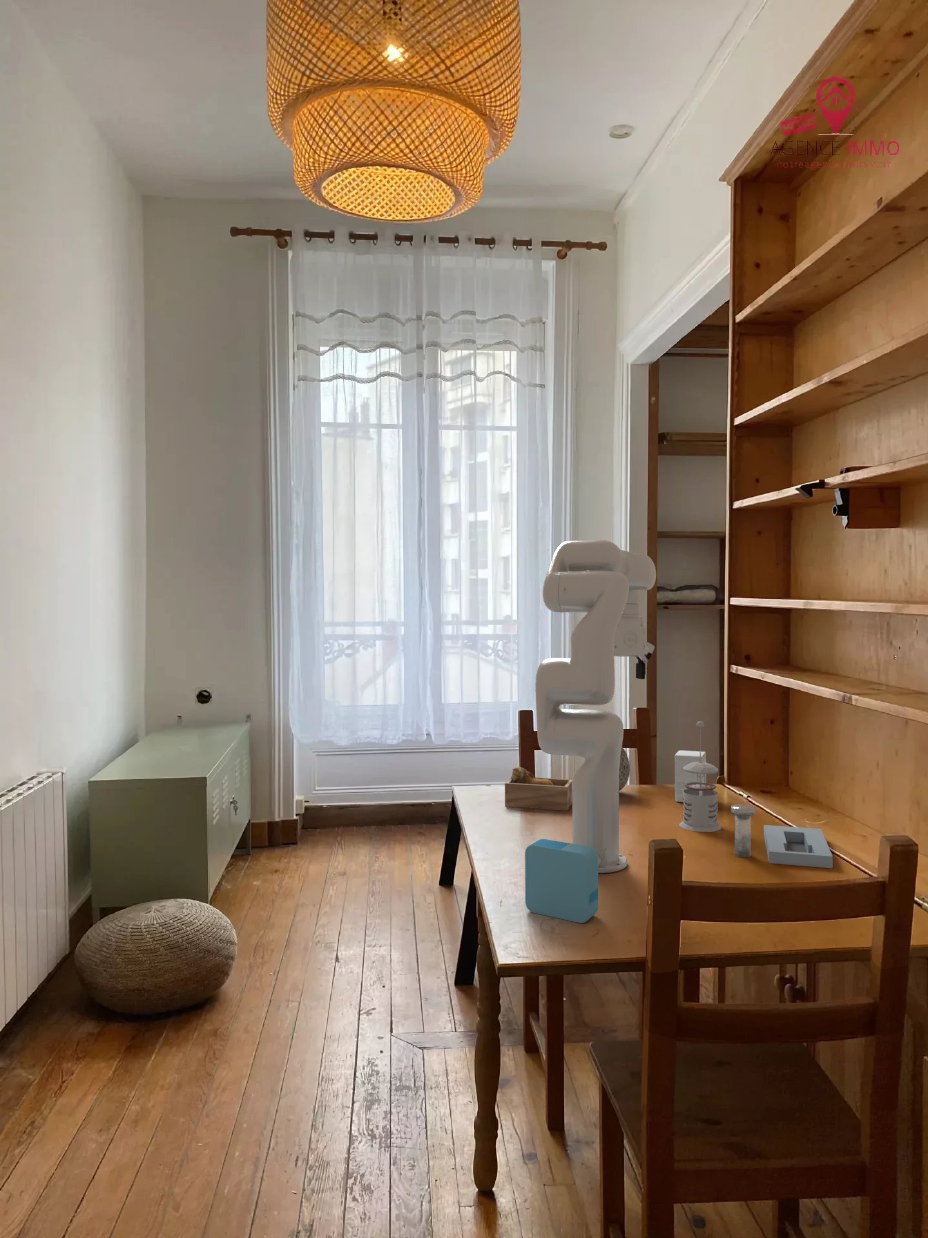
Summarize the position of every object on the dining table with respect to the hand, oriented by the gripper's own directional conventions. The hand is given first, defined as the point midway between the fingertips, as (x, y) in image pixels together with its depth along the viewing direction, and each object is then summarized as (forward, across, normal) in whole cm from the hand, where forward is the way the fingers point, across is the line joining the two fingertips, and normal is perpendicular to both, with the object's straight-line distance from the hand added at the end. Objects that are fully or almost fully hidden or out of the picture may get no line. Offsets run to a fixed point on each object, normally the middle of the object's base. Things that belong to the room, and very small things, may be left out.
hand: (623, 679), depth 209 cm
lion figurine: (+34, -17, +17) cm, 41 cm away
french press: (+34, +11, -16) cm, 39 cm away
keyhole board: (+34, +18, -40) cm, 56 cm away
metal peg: (+34, +5, -38) cm, 52 cm away
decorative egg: (+33, +7, +19) cm, 39 cm away
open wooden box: (+34, -16, +16) cm, 40 cm away
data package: (+36, -45, -52) cm, 78 cm away
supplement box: (+33, +24, +4) cm, 41 cm away
